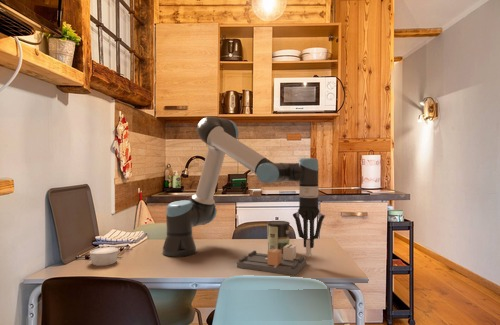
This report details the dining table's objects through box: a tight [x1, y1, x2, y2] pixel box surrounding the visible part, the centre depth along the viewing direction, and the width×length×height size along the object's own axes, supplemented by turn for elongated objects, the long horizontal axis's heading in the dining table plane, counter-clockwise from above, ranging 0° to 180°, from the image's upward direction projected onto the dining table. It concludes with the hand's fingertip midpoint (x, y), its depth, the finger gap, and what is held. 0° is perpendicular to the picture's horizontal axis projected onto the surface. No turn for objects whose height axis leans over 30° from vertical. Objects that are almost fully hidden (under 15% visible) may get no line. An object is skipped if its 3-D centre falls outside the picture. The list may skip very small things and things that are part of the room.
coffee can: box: [266, 220, 290, 256], centre depth 158 cm, size 10×10×14 cm
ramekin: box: [89, 246, 120, 267], centre depth 142 cm, size 11×11×5 cm
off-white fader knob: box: [283, 244, 297, 261], centre depth 140 cm, size 4×5×5 cm
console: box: [236, 250, 307, 276], centre depth 139 cm, size 24×17×3 cm
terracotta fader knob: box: [267, 249, 282, 266], centre depth 133 cm, size 4×5×5 cm
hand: (308, 255), depth 137 cm, fingers closed
